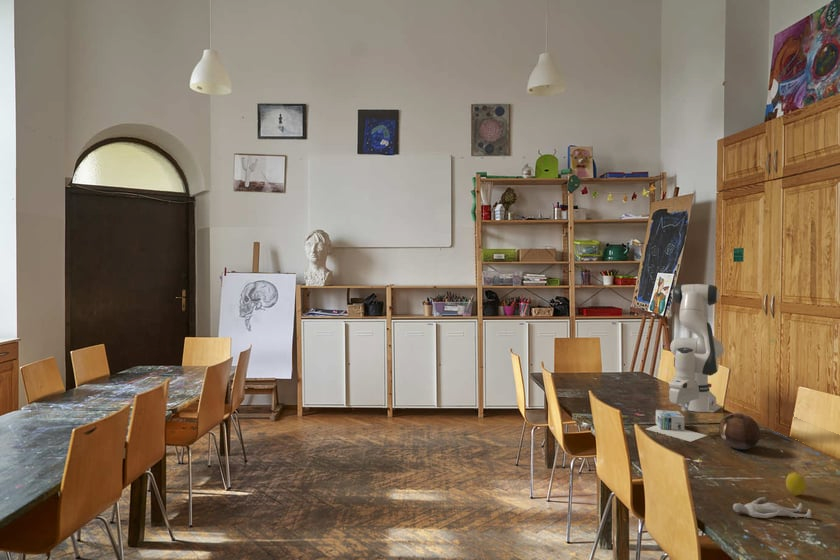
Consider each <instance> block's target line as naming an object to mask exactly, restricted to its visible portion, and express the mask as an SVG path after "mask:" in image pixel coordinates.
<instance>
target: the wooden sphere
mask: <svg viewBox="0 0 840 560" xmlns="http://www.w3.org/2000/svg"><path fill="white" fill-rule="evenodd" d="M718 431H719V435H720V438H721V439H722V440H723V441H724V443H726V445H728V446H730V447H731V448H733V449H737V450H748V449H751V448H753V447H755V446H756V445H757V444H758V442H760V437H761V430H760V427H759V425H758V424H757V422H756V421H755V420H754V419H753V418H752V417H751V416H749V415H747V414H745V413H744V414H743V413H741V412H734V413H730V414H727V415H726V416H724V417H723V418H722V419H721V420H720V423H719V426H718Z"/></svg>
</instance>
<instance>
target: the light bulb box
mask: <svg viewBox="0 0 840 560" xmlns="http://www.w3.org/2000/svg"><path fill="white" fill-rule="evenodd" d="M654 421H655V425H658V426H659V428H660V429H669V430H683V431H684V429H685V416H684V415H683V414H682V413H681V412H680V411H677V410H675V411H674V410H663V409H662V410H661V409H656V410H655V420H654Z"/></svg>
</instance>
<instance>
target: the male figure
mask: <svg viewBox="0 0 840 560" xmlns="http://www.w3.org/2000/svg"><path fill="white" fill-rule="evenodd" d="M766 500H767V498H766V497H765V496H763V497H758V498H757V499H754V500H753V501H751V502H749V503H746V504H742V503H741V502H738V503H734V504H733V505H732V510H734V512H736V513H739V512H743V513H745V514H746V515H748V516H750V517H752V518H760V519H768V518H773V517H777V516H779V517H780V516H781V517H782V516H783V517H787V516H788V517H790V518H792V517H795V518H794V519H798V518H797V517H807V518H811V519H812V510H811V509H810V508H808V509H807V513H805V514H801V513H802V512H803V510H802V509H803V504H802V503H801V502H799V504H798V506H797V507H796V508H789V507H785V506H781V505H780V504H777V503H773V502H765V501H766ZM760 501H763V502H765V503H762V504H761V503H760V504H759V502H760ZM797 511H799V512H797ZM801 511H802V512H801Z"/></svg>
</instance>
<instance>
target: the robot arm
mask: <svg viewBox="0 0 840 560" xmlns="http://www.w3.org/2000/svg"><path fill="white" fill-rule="evenodd" d="M719 291H720V290H719V289H718V287H717V286H716V285H713V284H704V283H703V284H702V283H695V284H693V283H691V284H680V283H679V284H676V285H674V286H673V288H672V291H671V298H672V300H673V302H674V303H675V304H677V305H680V306H679V314H678V316H679V323H680V324H681V325H682V326H683V327H684V328H686V329H687V331H689V332H691V333H692V334H695V335H696V336H697V337H677V338H674V339H673V340H672V341H671V343H670V346H669V349H670V351H671V353H672V355H674V358H673V367H674V369H675V372H674V378H672V380H671V381H669V382H668V386H669V392H668V395H669V396H668V397H669V402H670V404H673V405H679V406H680V409H681V411H682V412H686V411H689V412H696V413H715V412H717V411H718V410H720V409H722V405H720V404H717V397H716V396H715V394H714V393H712V392H711V391H710V390H711V389H710V388H712V383H709V380H708V379H709V378H708V377H709V376H714V375H715V374H717V372H718V371H719V367H720V366H719V361H718V359H720V358H721V357H722V356H723V355H724V351H725V350H724V349H725V348H724V345H723V343H722V342H721V341H720V340H718V339H717V338H716V337H715V336H714V334H713V330H712V326H711V323H710V322H709V307H710V306H713V305H715V304H717V303H718V301H719V299H720V292H719Z"/></svg>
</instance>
